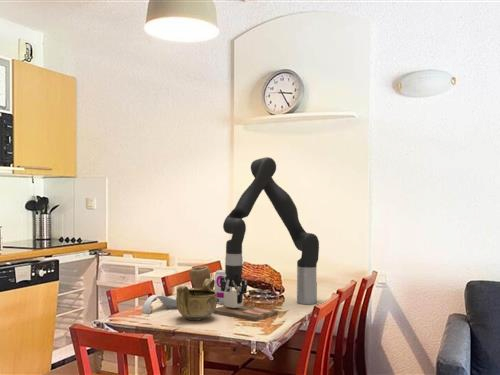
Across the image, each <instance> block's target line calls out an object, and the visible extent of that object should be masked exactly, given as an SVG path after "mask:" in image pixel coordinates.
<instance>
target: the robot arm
mask: <svg viewBox="0 0 500 375" xmlns="http://www.w3.org/2000/svg"><path fill="white" fill-rule="evenodd" d="M250 171H251V174H252V176H253V177H254V179H253V181H252V182H251V183H250V184H249V186H248V187H247V188H246V189H245V190H244V192H243V193H242V194H241V195H240V197H239V199H238V201H237V203H236V205H235V207H234V208H233V209H232V210H231V211H230V213H229V214H228V215H227V216H226V217H225V219H224V221H223V224H222V229H223V231H224V232H225V233H226V234H229V235H231V238H230V239H228V240H227V241H226V244H225V258H224V259H225V263H224V268H225V269H224V270H225V274H226V277H221V278H220V284H221V291H224V292H228V291H230V289H231V288H232V289H233V288H234V291H237V294H238V295H237V303H238V304H240V303H241V302H242V295H243V296H244V295H245V294H247V289H248V279H243V276H242V275H243V242H244V238H245V235H246V230H247V227H246V226H247V225H246V223H245V221H244V219H245V218H247V217H248V216H250V213H251V212H252V210H253V208H254V205H255V204H256V202H257V200H258V198H259V196H260V195H261V193H262V191H263V192H264V194H265V195H266V196H267V198H268V200H269V201H270V203H271V205H272V207H273V208H274V210H275V212H276V214H277V215H278V217H279V218H280V219H281V221H282V223H283V225H284V227H285V228H286V229H287V231H288V233H289V236H290V237H291V240H292V242H293V245H294V246H295V248H296V249H297V251H300V252H301V257H300V258H299V259H298V260H297V261H296V262H297V263H296V264H297V265H296V303H297V304H299V305H314V304H316V303H317V302H318V281H317V268H318V267H317V266H318V265H317V264H318V263H319V262H318V261H319V252H320V240H319V238H318V236H317V235H316V234H314V233H310V232H306V230H305V229H304V227H303V226H302V224H301V222H300V219H299V213H298V207H297V206H296V204H295V202H294V200H293V199H292V197H291V196H290V194H289V193H288V192H287V191H286V190H285V189H283V188H282V187H281V186H280V185H278V184H277V182H276V181H275V179H273V176H274V175H275V173H276V171H277V164H276V161H275V160H274V159H273V158H271V157H268V156H267V157H266V156H265V157H261V158H258V159H255V160H253V161H252V162H251V165H250ZM226 282H227V284H226ZM223 286H224V287H223Z"/></svg>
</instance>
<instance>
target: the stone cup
mask: <svg viewBox="0 0 500 375" xmlns="http://www.w3.org/2000/svg"><path fill="white" fill-rule="evenodd" d="M189 277H190V281H191V284H192V285H193V289H201V288H202V287H203V284H204V281H205V280H206V279H211V270H210V268H209V266H206V265H205V266H196V267H192V268H191V269H190V270H189ZM213 291H215V289H213Z"/></svg>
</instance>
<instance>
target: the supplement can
mask: <svg viewBox="0 0 500 375" xmlns="http://www.w3.org/2000/svg"><path fill="white" fill-rule="evenodd" d="M221 277H226V274H225V269H218V270H216V271H215V273H214V281H215V284H214V290H215V291H216V292H217V305H224V291H221V284H220V278H221ZM226 284H227V282H226ZM223 287H224V286H223ZM232 290H233V287H232V288H231V289H230V291H232Z"/></svg>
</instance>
